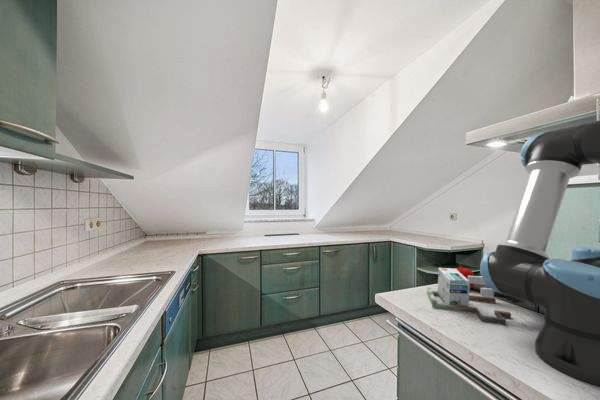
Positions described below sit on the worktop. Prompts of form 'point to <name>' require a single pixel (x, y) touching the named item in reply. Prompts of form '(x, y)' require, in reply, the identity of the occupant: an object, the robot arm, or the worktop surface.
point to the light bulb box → (453, 287)
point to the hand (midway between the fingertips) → (474, 285)
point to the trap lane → (471, 308)
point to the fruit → (466, 274)
